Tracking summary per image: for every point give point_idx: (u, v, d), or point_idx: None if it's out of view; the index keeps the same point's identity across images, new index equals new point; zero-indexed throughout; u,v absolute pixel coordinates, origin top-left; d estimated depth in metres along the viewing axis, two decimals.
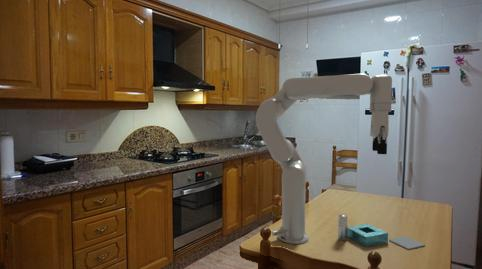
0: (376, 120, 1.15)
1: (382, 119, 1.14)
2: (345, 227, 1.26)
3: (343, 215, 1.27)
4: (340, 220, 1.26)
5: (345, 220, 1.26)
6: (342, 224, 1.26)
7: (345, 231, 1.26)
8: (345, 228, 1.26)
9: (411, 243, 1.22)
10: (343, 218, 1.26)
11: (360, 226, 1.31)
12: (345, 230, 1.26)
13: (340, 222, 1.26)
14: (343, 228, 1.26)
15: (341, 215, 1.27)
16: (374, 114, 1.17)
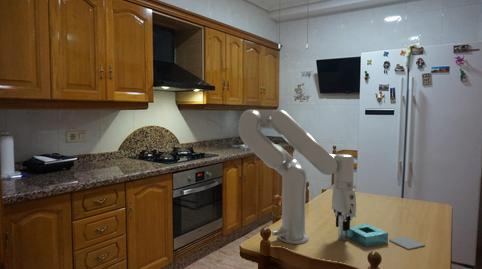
0: None
1: None
2: None
3: (343, 215, 1.27)
4: (340, 220, 1.26)
5: None
6: (342, 224, 1.26)
7: (345, 231, 1.26)
8: None
9: (411, 243, 1.22)
10: (343, 218, 1.26)
11: (360, 226, 1.31)
12: None
13: (340, 222, 1.26)
14: None
15: (341, 215, 1.27)
16: None
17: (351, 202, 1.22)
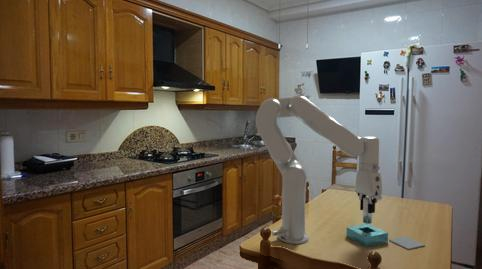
0: None
1: None
2: None
3: (368, 198, 1.26)
4: (365, 203, 1.25)
5: None
6: (367, 207, 1.25)
7: (370, 214, 1.25)
8: None
9: (411, 243, 1.22)
10: (368, 201, 1.25)
11: (360, 226, 1.31)
12: (370, 213, 1.25)
13: (365, 205, 1.25)
14: None
15: (366, 198, 1.26)
16: None
17: (377, 184, 1.21)
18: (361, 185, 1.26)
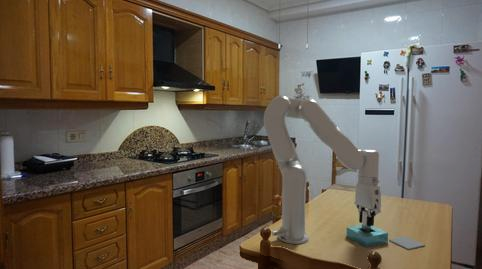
0: None
1: None
2: None
3: (367, 211, 1.27)
4: (364, 215, 1.26)
5: None
6: (366, 219, 1.25)
7: (369, 227, 1.26)
8: None
9: (411, 243, 1.22)
10: (367, 213, 1.25)
11: (360, 226, 1.31)
12: None
13: (364, 217, 1.26)
14: None
15: (365, 210, 1.27)
16: None
17: (376, 197, 1.22)
18: (360, 198, 1.26)
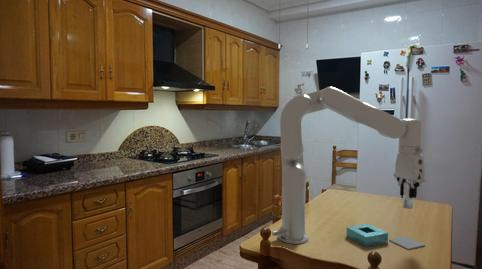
0: None
1: None
2: None
3: (409, 182, 1.22)
4: (406, 187, 1.21)
5: None
6: (408, 191, 1.21)
7: (411, 199, 1.21)
8: None
9: (411, 243, 1.22)
10: (410, 185, 1.20)
11: (360, 226, 1.31)
12: None
13: (406, 189, 1.21)
14: None
15: (407, 182, 1.22)
16: None
17: (420, 167, 1.17)
18: (402, 169, 1.22)
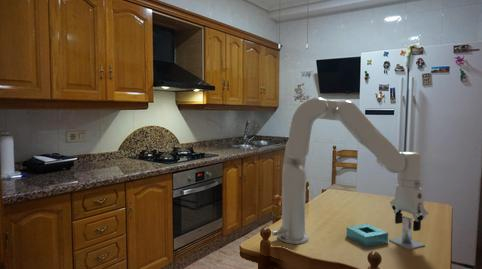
0: None
1: None
2: (410, 230, 1.22)
3: (408, 217, 1.23)
4: (405, 222, 1.22)
5: (410, 222, 1.21)
6: (407, 226, 1.22)
7: (410, 234, 1.22)
8: (410, 231, 1.22)
9: (411, 243, 1.22)
10: (408, 220, 1.21)
11: (360, 226, 1.31)
12: (410, 233, 1.22)
13: (405, 224, 1.22)
14: (408, 231, 1.22)
15: (405, 217, 1.23)
16: None
17: (419, 201, 1.18)
18: (401, 202, 1.23)
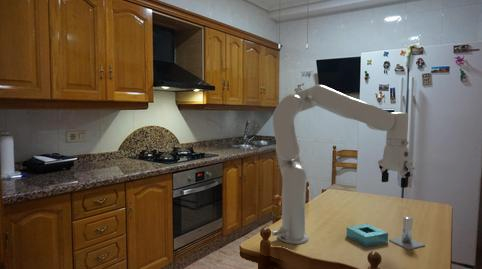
0: None
1: None
2: (410, 230, 1.22)
3: (408, 217, 1.23)
4: (405, 222, 1.22)
5: (411, 222, 1.21)
6: (407, 226, 1.22)
7: (410, 234, 1.22)
8: (410, 231, 1.22)
9: (411, 243, 1.22)
10: (409, 220, 1.21)
11: (360, 226, 1.31)
12: (410, 233, 1.22)
13: (405, 224, 1.22)
14: (409, 231, 1.22)
15: (406, 217, 1.23)
16: None
17: (405, 159, 1.20)
18: (388, 161, 1.25)
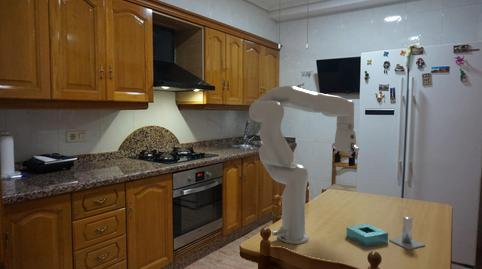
0: None
1: None
2: (410, 230, 1.22)
3: (408, 217, 1.23)
4: (405, 222, 1.22)
5: (410, 222, 1.21)
6: (407, 226, 1.21)
7: (410, 234, 1.22)
8: (410, 231, 1.22)
9: (411, 243, 1.22)
10: (408, 220, 1.21)
11: (360, 226, 1.31)
12: (410, 233, 1.22)
13: (405, 224, 1.22)
14: (408, 231, 1.21)
15: (406, 217, 1.23)
16: None
17: (352, 141, 1.38)
18: (338, 143, 1.43)
